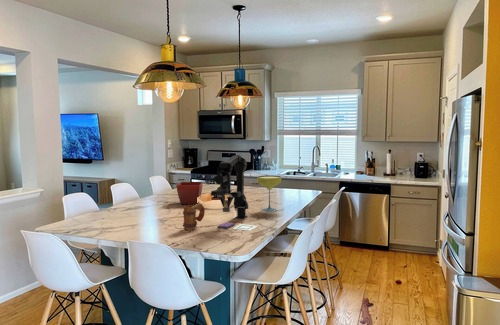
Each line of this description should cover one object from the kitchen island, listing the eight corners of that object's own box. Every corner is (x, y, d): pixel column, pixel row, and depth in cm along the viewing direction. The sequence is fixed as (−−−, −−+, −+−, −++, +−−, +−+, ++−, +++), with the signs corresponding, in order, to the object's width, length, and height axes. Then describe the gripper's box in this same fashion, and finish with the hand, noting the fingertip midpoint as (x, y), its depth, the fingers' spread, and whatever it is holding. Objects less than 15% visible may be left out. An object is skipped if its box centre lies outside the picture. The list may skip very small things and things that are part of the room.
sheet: (240, 224, 233) (240, 223, 233) (258, 226, 229) (258, 225, 229) (232, 228, 223) (232, 228, 223) (250, 230, 218) (250, 230, 218)
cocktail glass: (268, 213, 264) (268, 179, 262) (252, 209, 278) (252, 176, 276) (286, 210, 275) (286, 176, 274) (270, 206, 289) (269, 174, 287)
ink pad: (225, 224, 235) (225, 222, 235) (234, 225, 232) (234, 223, 232) (217, 227, 226) (217, 225, 225) (227, 228, 223) (227, 226, 223)
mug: (185, 232, 217) (185, 206, 216) (179, 229, 223) (179, 204, 222) (207, 228, 225) (207, 203, 224) (201, 225, 232) (200, 201, 231)
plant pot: (200, 205, 297) (199, 184, 296) (176, 205, 297) (175, 185, 296) (203, 201, 316) (203, 181, 315) (181, 201, 316) (180, 182, 315)
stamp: (224, 210, 231) (224, 199, 230) (231, 211, 229) (230, 199, 229) (221, 211, 227) (221, 200, 226) (227, 212, 225) (227, 201, 225)
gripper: (205, 183, 223) (206, 208, 224) (233, 184, 215) (233, 211, 217) (215, 181, 233) (215, 205, 234) (241, 182, 226) (241, 207, 227)
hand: (226, 207), depth 228 cm, fingers closed on stamp, 3 cm apart
